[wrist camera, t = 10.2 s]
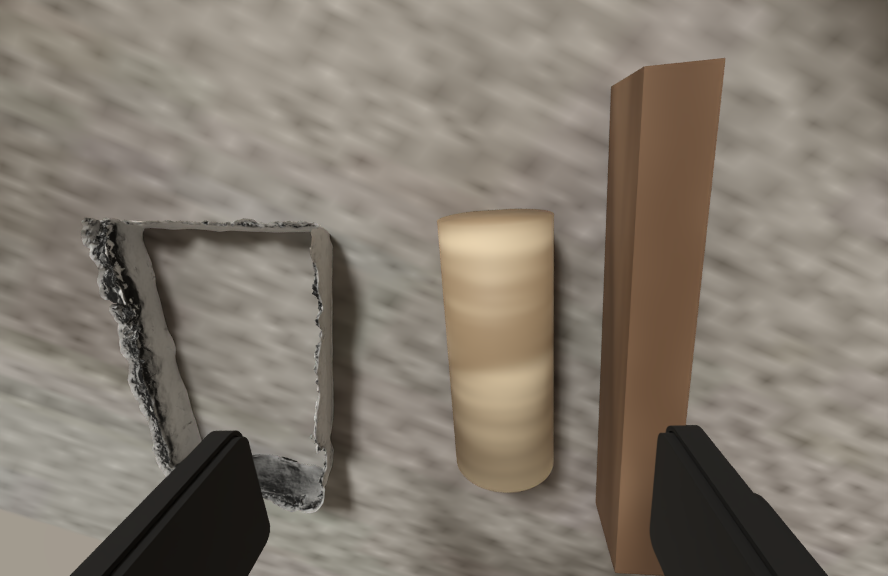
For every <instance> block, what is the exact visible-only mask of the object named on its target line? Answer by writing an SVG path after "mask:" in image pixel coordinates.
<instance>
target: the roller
mask: <svg viewBox="0 0 888 576" xmlns="http://www.w3.org/2000/svg"><path fill="white" fill-rule="evenodd" d="M437 223H438V236H439V248H440V260H441V273H442V285H443V297H444V309H445V322H446V334H447V346H448V358H449V371H450V383H451V395H452V407H453V420H454V432H455V444H456V457H457V464H458V467H459V469H460V471H461V473H462V474H463V475H464V476H465V477H466V478H467V479H468V480H469V481H470V482H472V483H473V484H475V485H477V486H479V487H481V488H484V489H487V490H490V491H495V492H503V493H511V492H519V491H524V490H527V489H530V488H533V487H535V486H537V485H538V484H540V483H541V482H543V481H544V480H545V479H546V478H547V477H548V476H549V474H550V473H551V471H552V468H553V463H554V213H552V212H550V211H546V210H538V209H504V210H488V211H473V212H466V213H459V214H454V215H449V216H446V217H443V218H440V219H439V220H438V221H437Z"/></svg>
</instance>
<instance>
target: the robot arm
mask: <svg viewBox="0 0 888 576" xmlns="http://www.w3.org/2000/svg"><path fill="white" fill-rule="evenodd" d="M649 532H650V540H651V544H652V547H653V550H654V552H655V555H656V557H657V559H658V562H659V564H660V566H661V569H662V571H663V573H664V575H665V576H828V575H827V574H826V573H825V571H824V570H823V569H822V568H821V567H820V565H819V564H818V563H817V562H816V561H815V559H814V558H813V557H812V556H811V554H810V553H809V552H808V551H807V550H806V548H805V547H804V546H803V545H802V544H801V542H800V541H799V540H798V539H797V537H796V536H795V535H794V534H793V533H792V531H791V530H790V529H789V528H788V526H787V525H786V524H785V523H784V522H783V520H782V519H781V518H780V517H779V516H778V514H777V513H776V512H775V511H774V509H773V508H772V507H771V506H770V505H769V503H768V502H767V501H766V500H765V499H764V498H763V497H762V496H760V495H758V494H756V493H753V492H752V490H751V489H750V488H749V487H748V485H747V484H746V483H745V482H744V480H743V479H742V478H741V477H740V475H739V474H738V473H737V472H736V470H735V469H734V468H733V467H732V466H731V464H730V463H729V462H728V461H727V459H726V458H725V457H724V456H723V454H722V453H721V452H720V451H719V449H718V448H717V447H716V446H715V444H714V443H713V442H712V441H711V439H710V438H709V437H708V436H707V434H706V433H705V432H704V431H703V429H702V428H701V427H699V426H697V425H670V426H668V427H667V429H666V432H665V433H659V435H658V438H657V449H656V460H655V472H654V483H653V494H652V506H651V517H650V530H649ZM269 533H270V523H269V519H268V515H267V511H266V508H265V504H264V500H263V496H262V492H261V488H260V484H259V480H258V476H257V472H256V468H255V465H254V461H253V457H252V453H251V449H250V445H249V442H248V439H247V438H246V437H243V436H242V434H241V433H240V432H239V431H213V432H211V433H210V434H208V435H207V436H206V437H205V438H204V439H203V440H202V441H201V442H200V443H199V444H198V445H197V446H196V447H195V448H194V450H193V451H192V452H191V453H190V454H189V455H188V456H187V457H186V458H185V459H184V460H183V461H182V462H181V463H180V464H179V465H178V466H177V467H176V468H175V469H174V470H173V471H172V472H171V473H170V474H169V475H168V476H167V477H166V478H165V479H164V480H163V481H162V482H161V483H160V484H159V485H158V486H157V487H156V488H155V489H154V490H153V491H152V492H151V493H150V494H149V495H148V496H147V497H146V498H145V499H144V500H143V501H142V503H141V504H140V505H139V506H138V507H137V508H136V509H135V510H134V511H133V512H132V513H131V514H130V515H129V516H128V517H127V518H126V519H125V520H124V521H123V522H122V523H121V524H120V525H119V526H118V527H117V528H116V529H115V530H114V531H113V532H112V533H111V534H110V535H109V536H108V537H107V538H106V539H105V540H104V541H103V542H102V543H101V544H100V545H99V546H98V547H97V548H96V549H95V551H94V552H92V554H91V555H90V556H89V557H88V558H87V559H86V560H85V561H84V562H83V563H82V564H81V565H80V566H79V567H78V568H77V569H76V570H75V571H74V572H73V573H72V574H71V575H70V576H248V575H249V573H250V572H251V570H252V568H253V566H254V564H255V563H256V561H257V559H258V557H259V555H260V554H261V552H262V550H263V548H264V546H265V545H266V543H267V540H268V537H269Z"/></svg>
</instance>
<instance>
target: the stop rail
mask: <svg viewBox="0 0 888 576" xmlns="http://www.w3.org/2000/svg"><path fill="white" fill-rule="evenodd" d="M724 67H725V58H721V59H711V60H702V61H692V62H683V63H673V64H664V65H654V66H645V67H643V68H641V69H639V70H638V71H636V72H635V73H633V74H631V75H630V76H628V77H626V78H625V79H623V80H621V81H620V82H618V83H617V84H615V85H613V86H612V87H611V106H610V132H609V159H608V186H607V213H606V240H605V267H604V294H603V321H602V348H601V374H600V401H599V428H598V455H597V482H596V506H597V509H598V513H599V516H600V520H601V524H602V527H603V531H604V534H605V538H606V542H607V545H608V549H609V553H610V556H611V560H612V563H613V567H614V571H615V573H627V574H645V575H662V576H665V575H664V573H663V571H662V569H661V566H660V564H659V562H658V559H657V557H656V555H655V552H654V550H653V547H652V544H651V540H650V532H649V530H650V517H651V506H652V494H653V483H654V472H655V460H656V449H657V438H658V435H659V433H665V432H666V429H667V427H668V426H670V425H686V417H687V408H688V398H689V389H690V380H691V371H692V362H693V352H694V343H695V334H696V325H697V315H698V306H699V297H700V288H701V279H702V269H703V260H704V251H705V242H706V233H707V223H708V214H709V205H710V196H711V187H712V177H713V168H714V159H715V150H716V141H717V131H718V122H719V113H720V104H721V94H722V85H723V76H724Z"/></svg>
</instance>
